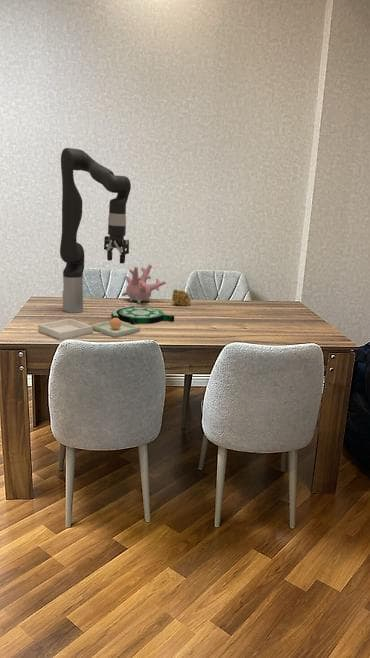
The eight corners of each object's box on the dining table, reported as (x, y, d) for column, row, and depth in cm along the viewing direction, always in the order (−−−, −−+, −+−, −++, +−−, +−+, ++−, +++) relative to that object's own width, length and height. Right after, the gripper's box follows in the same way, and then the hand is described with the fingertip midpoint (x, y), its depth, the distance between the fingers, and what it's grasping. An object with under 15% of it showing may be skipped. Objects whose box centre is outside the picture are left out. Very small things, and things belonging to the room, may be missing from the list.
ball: (107, 328, 212) (107, 317, 210) (116, 326, 215) (116, 315, 214) (114, 331, 209) (114, 320, 207) (123, 329, 212) (123, 318, 211)
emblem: (121, 304, 247) (179, 310, 242) (121, 310, 248) (179, 316, 243) (104, 316, 223) (167, 322, 218) (104, 323, 224) (167, 329, 219)
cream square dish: (38, 331, 206) (38, 324, 205) (70, 324, 217) (70, 318, 216) (60, 340, 195) (60, 333, 195) (92, 333, 207) (92, 326, 206)
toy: (136, 296, 280) (136, 261, 275) (165, 302, 269) (167, 266, 263) (114, 301, 265) (114, 264, 260) (144, 307, 254) (145, 269, 248)
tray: (91, 329, 212) (91, 324, 212) (116, 323, 222) (116, 319, 222) (115, 337, 202) (115, 333, 202) (140, 331, 212) (140, 327, 212)
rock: (177, 311, 271) (176, 293, 273) (193, 309, 269) (192, 292, 271) (172, 306, 260) (171, 288, 262) (188, 304, 258) (187, 286, 260)
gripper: (134, 226, 208) (132, 263, 212) (113, 222, 217) (112, 258, 221) (120, 226, 202) (119, 265, 207) (99, 222, 212) (98, 259, 216)
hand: (115, 261), depth 214 cm, fingers open, 8 cm apart
